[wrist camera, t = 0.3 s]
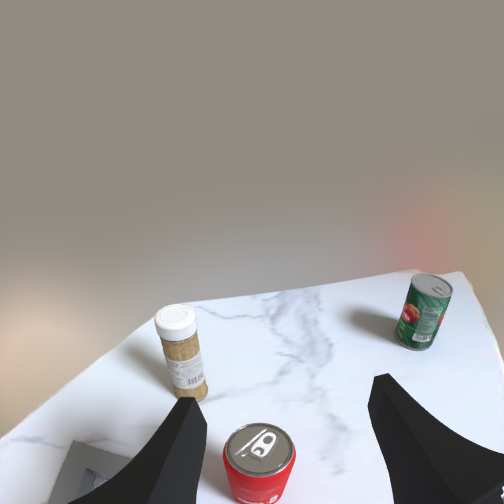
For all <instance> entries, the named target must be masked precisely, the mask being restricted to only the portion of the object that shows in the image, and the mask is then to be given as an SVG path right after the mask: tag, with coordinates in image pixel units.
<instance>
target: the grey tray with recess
mask: <svg viewBox="0 0 504 504" xmlns="http://www.w3.org/2000/svg"><path fill="white" fill-rule="evenodd" d="M131 460H132V459H129V458H125V457H121V456H118V455H115V454H111V453H108V452H105V451H102V450H99V449H96V448H93V447H91V446H88V445H85V444H83V443H80V442H78V441H75V440H74V441H73V443H72V445H71V448H70V450H69V452H68V455H67V457H66V459H65V462H64V464H63V466H62V469H61V471H60V474H59V476H58V479H57V481H56V484H55V487H54V489H53V492H52V495H51V497H50V500H49V503H48V504H67V503H69V502H71V501H73V500H75V499H78V498H80V497H82V496H84V495H86V494H88V493H89V492H91V489H92V486H93V483H94V480H95V477H96V476H98V477H101V478H104V479H106V480H109V479H111V478H112V477H113V476H114V475H116V474H117V473H118V472H119V471H120V470H122V469H123V468H124V467H125V466H126V465H127V464H128V463H129V462H130V461H131Z"/></svg>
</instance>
